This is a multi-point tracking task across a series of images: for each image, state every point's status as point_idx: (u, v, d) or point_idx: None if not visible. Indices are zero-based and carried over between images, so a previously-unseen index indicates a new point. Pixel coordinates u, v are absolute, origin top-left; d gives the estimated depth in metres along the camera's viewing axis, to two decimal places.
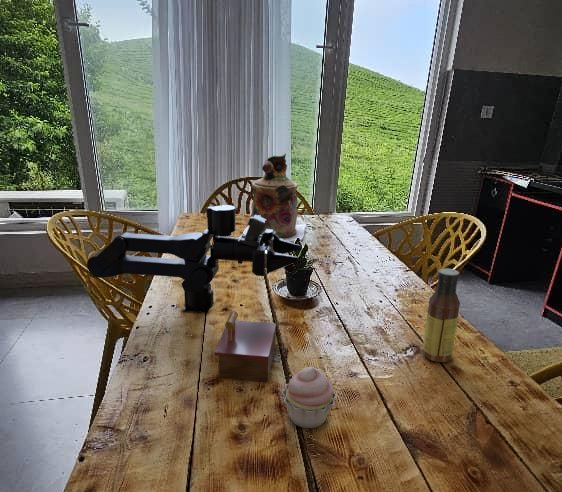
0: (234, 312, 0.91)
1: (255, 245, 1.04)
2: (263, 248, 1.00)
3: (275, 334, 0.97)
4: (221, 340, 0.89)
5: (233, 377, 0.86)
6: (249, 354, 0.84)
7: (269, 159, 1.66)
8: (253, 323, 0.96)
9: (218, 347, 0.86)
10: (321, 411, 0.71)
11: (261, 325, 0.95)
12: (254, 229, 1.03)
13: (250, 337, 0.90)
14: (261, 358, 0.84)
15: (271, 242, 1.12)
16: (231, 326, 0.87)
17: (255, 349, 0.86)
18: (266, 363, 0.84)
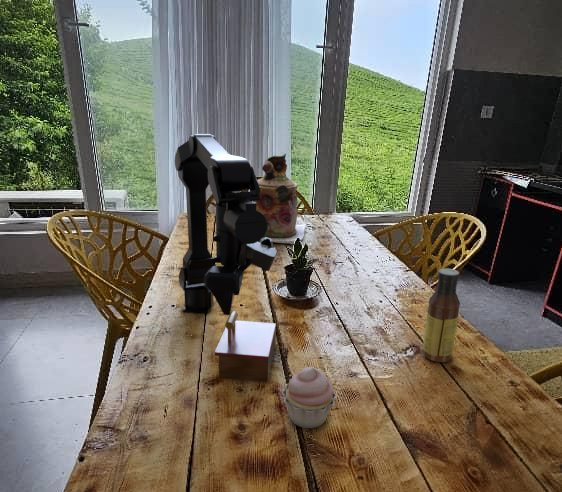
0: (234, 312, 0.91)
1: (240, 261, 0.82)
2: (240, 283, 0.78)
3: (275, 334, 0.97)
4: (221, 340, 0.89)
5: (233, 377, 0.86)
6: (249, 354, 0.84)
7: (269, 159, 1.66)
8: (253, 323, 0.96)
9: (218, 347, 0.86)
10: (321, 411, 0.71)
11: (261, 325, 0.95)
12: (260, 259, 0.82)
13: (250, 337, 0.90)
14: (261, 358, 0.84)
15: None
16: (231, 326, 0.87)
17: (255, 349, 0.86)
18: (266, 363, 0.84)
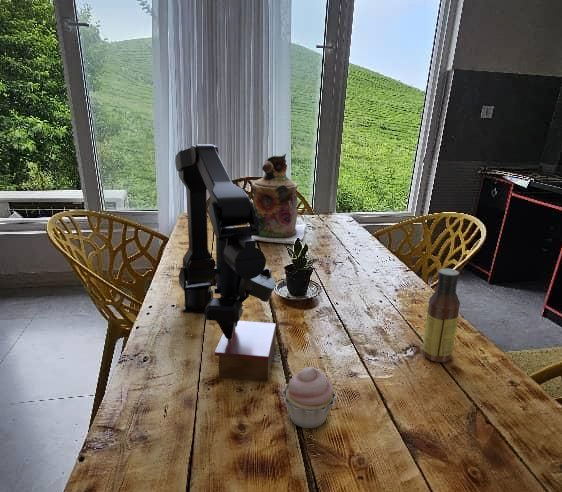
0: None
1: (239, 292, 0.84)
2: (240, 315, 0.80)
3: (275, 334, 0.97)
4: (221, 340, 0.89)
5: (233, 377, 0.86)
6: (249, 354, 0.84)
7: (269, 159, 1.66)
8: (253, 323, 0.96)
9: (218, 347, 0.86)
10: (321, 411, 0.71)
11: (261, 325, 0.95)
12: (259, 291, 0.84)
13: (250, 337, 0.90)
14: (261, 358, 0.84)
15: None
16: None
17: (255, 349, 0.86)
18: (266, 363, 0.84)
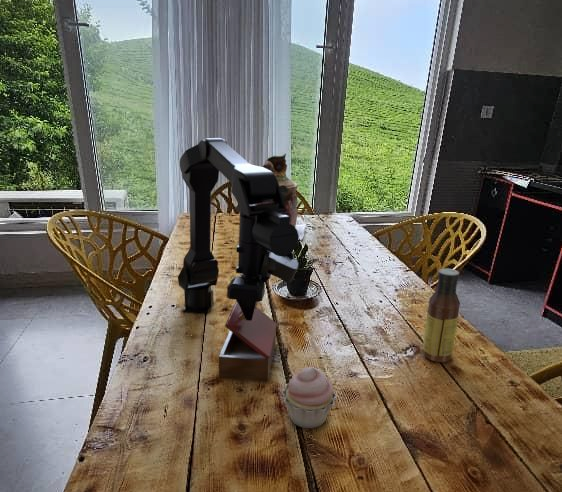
0: None
1: (262, 272, 0.82)
2: (263, 295, 0.79)
3: (275, 334, 0.97)
4: (233, 313, 0.86)
5: (233, 377, 0.86)
6: (255, 344, 0.83)
7: (269, 159, 1.66)
8: (259, 311, 0.95)
9: (230, 320, 0.84)
10: (321, 411, 0.71)
11: (265, 318, 0.95)
12: (283, 271, 0.82)
13: (257, 326, 0.89)
14: (262, 354, 0.84)
15: None
16: None
17: (260, 342, 0.85)
18: (266, 363, 0.84)
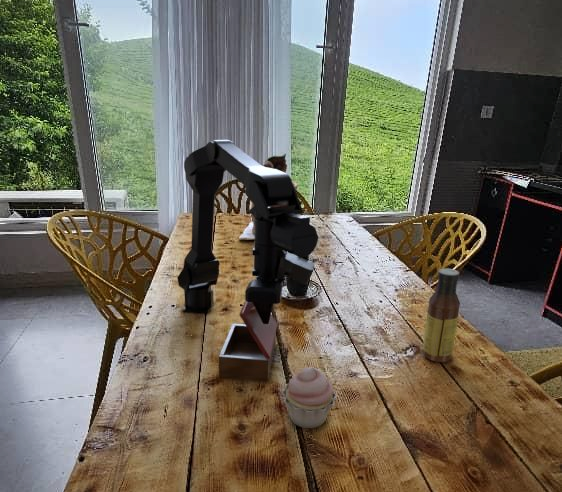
0: None
1: (279, 274, 0.82)
2: None
3: (275, 334, 0.97)
4: (248, 304, 0.85)
5: (233, 377, 0.86)
6: (260, 341, 0.83)
7: (269, 159, 1.66)
8: None
9: (245, 310, 0.83)
10: (321, 411, 0.71)
11: (270, 316, 0.94)
12: (299, 273, 0.82)
13: None
14: (264, 353, 0.84)
15: None
16: None
17: (264, 340, 0.85)
18: (266, 363, 0.84)
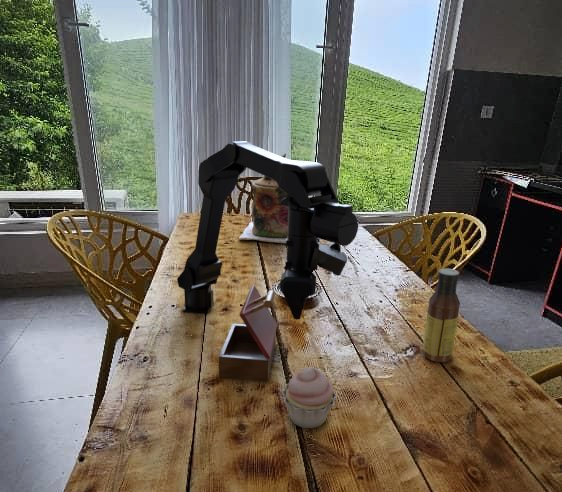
0: (274, 294, 0.89)
1: (312, 265, 0.81)
2: None
3: (275, 334, 0.97)
4: (248, 304, 0.85)
5: (233, 377, 0.86)
6: (260, 341, 0.83)
7: None
8: (266, 307, 0.94)
9: (245, 310, 0.83)
10: (321, 411, 0.71)
11: (270, 316, 0.94)
12: (332, 264, 0.81)
13: (263, 322, 0.89)
14: (264, 353, 0.84)
15: None
16: (268, 306, 0.85)
17: (264, 340, 0.85)
18: (266, 363, 0.84)
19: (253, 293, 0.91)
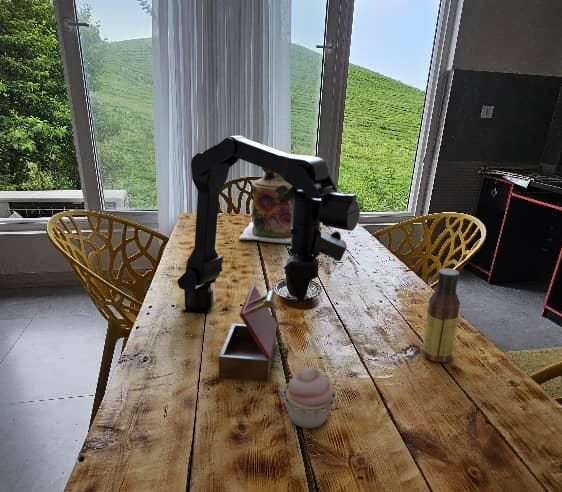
0: (274, 294, 0.89)
1: (315, 251, 0.89)
2: None
3: (275, 334, 0.97)
4: (248, 304, 0.85)
5: (233, 377, 0.86)
6: (260, 341, 0.83)
7: None
8: (266, 307, 0.94)
9: (245, 310, 0.83)
10: (321, 411, 0.71)
11: (270, 316, 0.94)
12: (333, 250, 0.89)
13: (263, 322, 0.89)
14: (264, 353, 0.84)
15: None
16: (268, 306, 0.85)
17: (264, 340, 0.85)
18: (266, 363, 0.84)
19: (253, 293, 0.91)
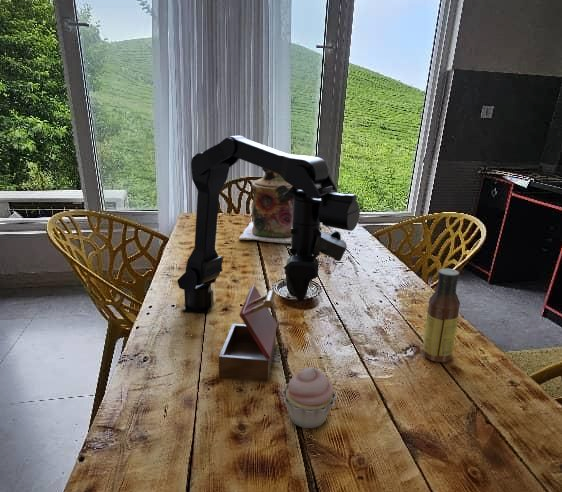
0: (274, 294, 0.89)
1: (315, 251, 0.89)
2: None
3: (275, 334, 0.97)
4: (248, 304, 0.85)
5: (233, 377, 0.86)
6: (260, 341, 0.83)
7: None
8: (266, 307, 0.94)
9: (245, 310, 0.83)
10: (321, 411, 0.71)
11: (270, 316, 0.94)
12: (333, 250, 0.89)
13: (263, 322, 0.89)
14: (264, 353, 0.84)
15: None
16: (268, 306, 0.85)
17: (264, 340, 0.85)
18: (266, 363, 0.84)
19: (253, 293, 0.91)
